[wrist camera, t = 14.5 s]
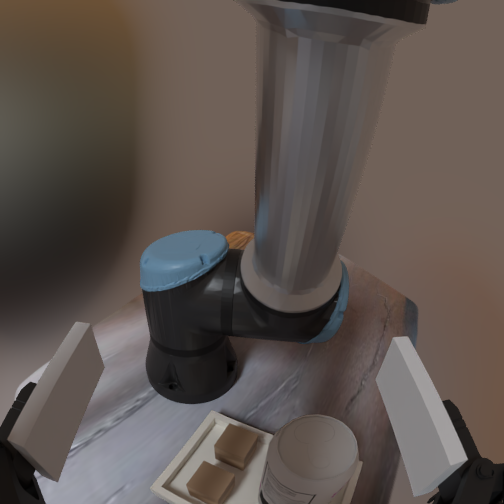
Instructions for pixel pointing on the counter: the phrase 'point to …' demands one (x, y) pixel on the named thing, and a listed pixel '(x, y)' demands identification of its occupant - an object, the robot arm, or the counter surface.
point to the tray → (224, 466)
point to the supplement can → (308, 461)
